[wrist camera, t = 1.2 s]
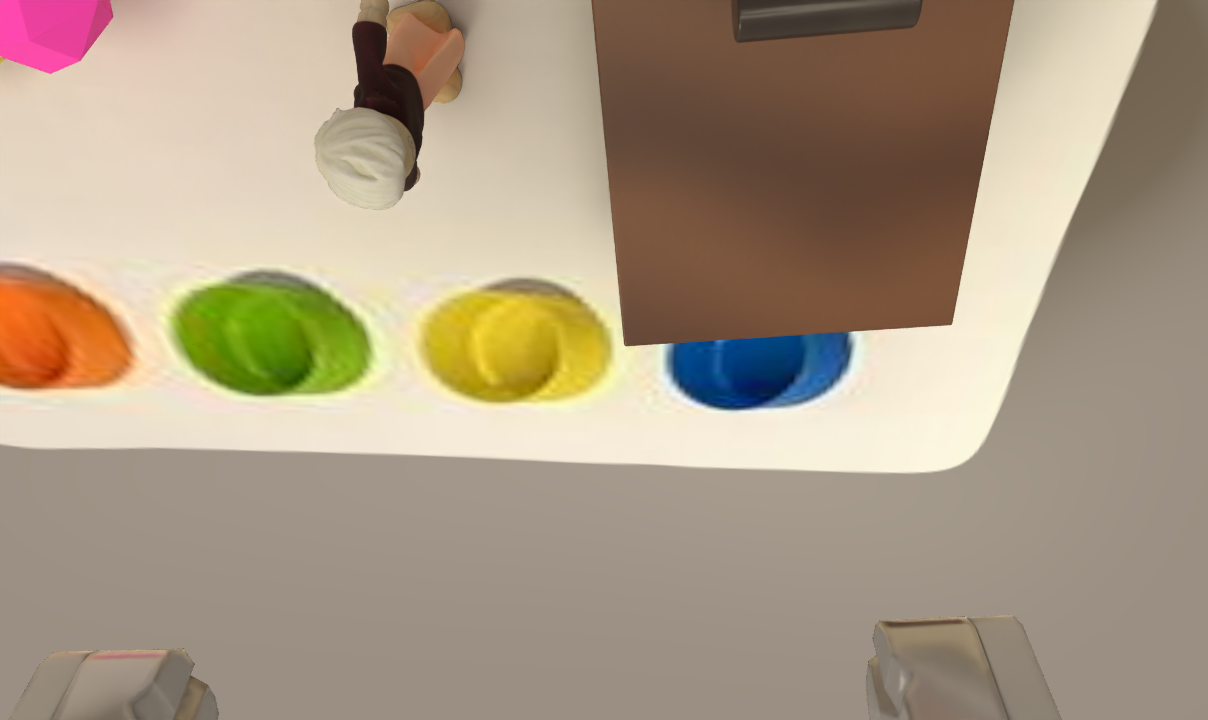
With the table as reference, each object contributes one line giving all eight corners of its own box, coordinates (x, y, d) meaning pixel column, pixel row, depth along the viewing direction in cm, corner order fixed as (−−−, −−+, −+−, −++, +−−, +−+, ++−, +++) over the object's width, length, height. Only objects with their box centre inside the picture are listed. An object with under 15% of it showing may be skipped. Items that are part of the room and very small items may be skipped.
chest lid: (583, -98, 28) (578, -51, 24) (1031, -141, 27) (1102, -99, 23) (624, 335, 38) (625, 416, 34) (946, 314, 37) (985, 394, 34)
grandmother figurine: (493, 111, 41) (456, 266, 32) (414, 130, 42) (353, 287, 32) (434, -64, 37) (369, 54, 27) (346, -41, 37) (251, 83, 28)
